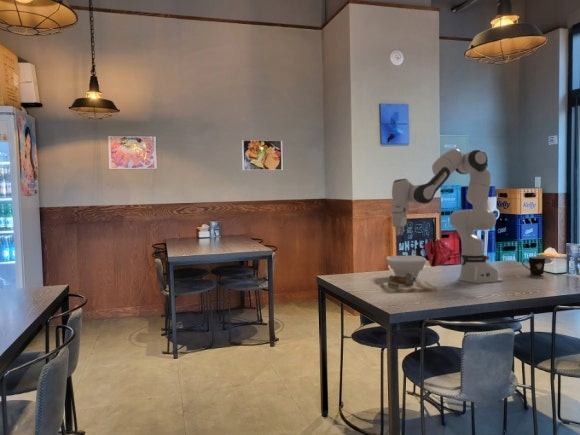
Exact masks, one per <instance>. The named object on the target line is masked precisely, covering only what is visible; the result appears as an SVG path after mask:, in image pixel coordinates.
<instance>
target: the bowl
mask: <svg viewBox="0 0 580 435" xmlns="http://www.w3.org/2000/svg"><path fill="white" fill-rule="evenodd" d="M386 262H387V264H388V267H389V269H390V270H392V271H393V273H394V276H405V273H407V272H411V273H413V279H417V278H418V276H419V274H420V272H421V271H423V270H424V269H423V268H424V266H425V264H426V263H427V258H425V257H424V256H420V255H389V256H386Z"/></svg>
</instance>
